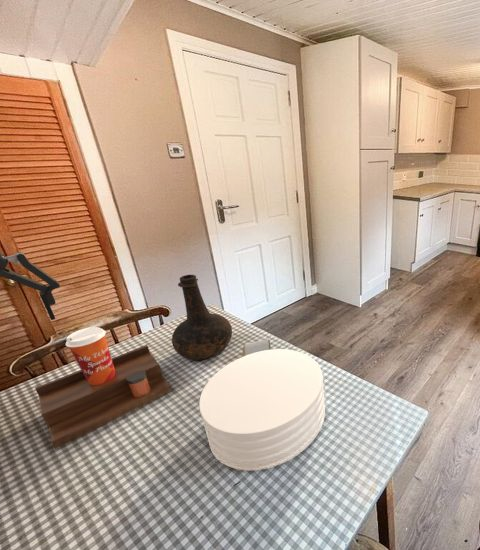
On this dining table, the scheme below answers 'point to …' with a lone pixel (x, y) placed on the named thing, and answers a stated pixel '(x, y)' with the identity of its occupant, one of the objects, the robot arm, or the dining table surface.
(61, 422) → the spice rack
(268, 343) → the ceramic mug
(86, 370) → the paper cup
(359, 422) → the dining table surface
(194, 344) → the glass bottle
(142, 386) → the small spice jar
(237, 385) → the plate stack
